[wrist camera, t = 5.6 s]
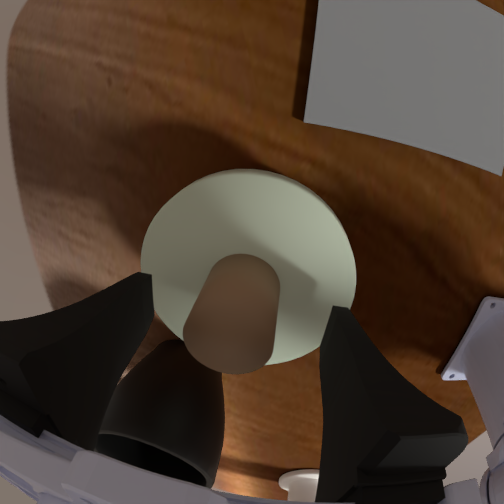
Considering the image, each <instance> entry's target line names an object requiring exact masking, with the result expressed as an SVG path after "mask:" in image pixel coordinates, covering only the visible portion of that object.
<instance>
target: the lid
mask: <svg viewBox="0 0 504 504" xmlns="http://www.w3.org/2000/svg"><path fill="white" fill-rule="evenodd" d="M141 272H142V273H147V274H152V286H153V302H154V310H155V311H156V313H157V314H158V316H159V317H160V318H161V320H162V321H163V322H164V323H165V325H166V326H167V327H168V328H169V329H170V330H171V331H172V332H173V333H174V334H175V335H177V336H178V337H179V338H180V339H182V340H183V341H184V343H185V346H186V347H187V349H188V351H189V352H190V354H191V355H192V356H193V357H194V358H195V359H196V360H197V361H199V362H200V363H201V364H203V365H205V366H206V367H208V368H210V369H213V370H215V371H218V372H222V373H227V374H245V373H249V372H253V371H255V370H257V369H259V368H261V367H262V366H264V365H268V364H277V363H281V362H286V361H290V360H293V359H295V358H298V357H301V356H303V355H305V354H307V353H309V352H311V351H313V350H314V349H316V348H318V347H319V346H320V344H321V341H322V338H323V335H324V332H325V329H326V326H327V322H328V319H329V316H330V313H331V310H332V306H341V307H348V308H349V310H350V308H351V305H352V302H353V299H354V295H355V288H356V267H355V260H354V256H353V253H352V250H351V246H350V243H349V241H348V238H347V235H346V232H345V230H344V228H343V226H342V224H341V222H340V220H339V219H338V218H337V216H336V215H335V213H334V212H333V210H332V209H331V208H330V207H329V206H328V205H327V204H326V203H325V201H324V200H323V199H322V198H320V197H319V196H318V195H317V194H316V193H314V192H313V191H312V190H311V189H309V188H307V187H306V186H304V185H302V184H301V183H299V182H297V181H295V180H293V179H291V178H288V177H286V176H284V175H281V174H277V173H273V172H270V171H265V170H257V169H233V170H225V171H220V172H217V173H213V174H210V175H207V176H205V177H203V178H200V179H198V180H196V181H194V182H193V183H191V184H190V185H188V186H187V187H185V188H184V189H182V190H181V191H180V192H178V193H177V194H176V195H175V196H173V197H172V198H171V199H170V200H169V201H168V202H167V203H166V204H165V205H164V206H163V207H162V208H161V209H160V210H159V212H158V213H157V214H156V215H155V217H154V219H153V220H152V222H151V224H150V225H149V227H148V230H147V232H146V235H145V237H144V241H143V246H142V250H141Z"/></svg>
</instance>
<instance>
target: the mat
mask: <svg viewBox="0 0 504 504" xmlns="http://www.w3.org/2000/svg"><path fill="white" fill-rule="evenodd" d="M303 122H306V123H312V124H318V125H323V126H329V127H334V128H339V129H344V130H349V131H353V132H358V133H363V134H367V135H371V136H376V137H380V138H384V139H388V140H392V141H396V142H399V143H403V144H407V145H410V146H414V147H418V148H421V149H424V150H428V151H431V152H434V153H438V154H441V155H444V156H447V157H450V158H453V159H456V160H459V161H462V162H465V163H468V164H471V165H473V166H476V167H479V168H482V169H484V170H487V171H490V172H492V173H495V174H497V175H500V176H501V175H502V171H503V166H504V16H503V15H501V14H500V13H498V12H496V11H494V10H493V9H491V8H489V7H487V6H485V5H483V4H481V3H480V2H478V1H476V0H319V1H318V11H317V19H316V28H315V37H314V45H313V53H312V61H311V69H310V77H309V84H308V92H307V99H306V107H305V114H304V121H303Z"/></svg>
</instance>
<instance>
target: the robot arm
mask: <svg viewBox="0 0 504 504" xmlns="http://www.w3.org/2000/svg"><path fill="white" fill-rule="evenodd" d="M492 303H493V304H492ZM491 304H492V305H491ZM153 317H154V302H153V286H152V274H147V273H142V272H137V273H135V274H133V275H131V276H129V277H127V278H125V279H123V280H121V281H119V282H117V283H115V284H113V285H112V286H110V287H108V288H106V289H104V290H102V291H100V292H98V293H96V294H94V295H92V296H90V297H88V298H86V299H84V300H81V301H79V302H77V303H74V304H72V305H69V306H67V307H64V308H61V309H58V310H55V311H52V312H48V313H45V314H42V315H38V316H34V317H29V318H24V319H18V320H11V321H0V476H1V477H3V478H4V479H5V480H7V481H8V482H9V483H11V484H12V485H14V486H15V487H17V488H18V489H19V490H21V491H22V492H23V493H25V494H26V495H28V496H29V497H31V498H33V499H34V500H36V501H37V504H504V298H497V297H490V296H488V297H485V298H484V299H483V300H482V302H481V304H480V306H479V308H478V310H477V312H476V314H475V316H474V318H473V320H472V322H471V324H470V326H469V327H468V329H467V331H466V333H465V335H464V337H463V338H462V340H461V342H460V344H459V345H458V347H457V349H456V351H455V352H454V354H453V356H452V357H451V359H450V361H449V362H448V364H447V365H446V367H445V369H444V370H443V372H442V373H441V378H442V379H443V380H467V381H468V384H469V386H470V388H471V391H472V393H473V396H474V398H475V401H476V403H477V406H478V408H479V411H480V413H481V416H482V419H483V421H484V424H485V427H486V429H487V432H488V435H489V438H490V441H491V444H492V447H493V451H492V452H491V453H490V454H489V455H488V456H487V457H486V459H487V463H488V466H489V468H488V469H487V470H486V472H485V473H484V475H483V476H482V479H481V482H480V488H479V487H478V482H477V479H475V478H474V479H470V480H465V481H461V482H456V483H452V484H449V485H447V486H445V487H443V481H442V480H443V479H445V478H446V470H445V467H447V466H448V465H449V464H450V463H451V462H452V461H453V460H454V459H455V458H457V457H458V456H459V455H460V454H461V453H462V452H463V450H464V449H465V447H466V446H467V444H468V436H467V432H466V429H465V426H464V423H463V420H462V418H461V417H460V416H459V415H457V414H455V413H453V412H451V411H450V410H448V409H446V408H444V407H442V406H441V405H439V404H438V403H436V402H435V401H433V400H432V399H430V398H429V397H427V396H426V395H425V394H423V393H422V392H421V391H419V390H418V389H417V388H416V387H415V386H413V385H412V384H411V383H410V382H409V381H407V380H406V379H405V378H404V377H403V376H402V375H401V374H400V373H399V372H398V371H397V370H396V369H395V368H394V367H393V366H392V365H391V364H390V363H389V362H388V361H387V360H386V358H385V357H384V356H383V355H382V354H381V352H380V351H379V350H378V349H377V348H376V346H375V345H374V344H373V342H372V341H371V340H370V338H369V337H368V336H367V334H366V333H365V332H364V330H363V329H362V327H361V326H360V324H359V323H358V322H357V320H356V319H355V317H354V316H353V314H352V313H351V311H350V310H349V308H348V307H341V306H332V310H331V313H330V316H329V319H328V322H327V326H326V329H325V332H324V335H323V338H322V341H321V344H320V365H319V367H320V379H321V391H322V404H323V437H322V450H321V461H320V470H319V478H318V485H317V491H316V497H315V502H297V501H284V500H273V499H264V498H256V497H249V496H242V495H236V494H230V493H225V492H219V491H214V490H212V489H210V488H206V487H203V486H200V485H196V484H193V483H190V482H186V481H182V480H178V479H175V478H171V477H167V476H164V475H160V474H157V473H154V472H151V471H147V470H144V469H141V468H138V467H135V466H132V465H129V464H127V463H124V462H121V461H118V460H116V459H113V458H111V457H108V456H105V455H103V454H100V453H96V452H94V449H95V445H96V441H97V438H98V434H99V431H100V428H101V425H102V422H103V419H104V416H105V413H106V411H107V408H108V405H109V403H110V400H111V398H112V395H113V393H114V391H115V388H116V386H117V384H118V381H119V379H120V377H121V376H122V374H123V372H124V370H125V369H126V367H127V365H128V364H129V362H130V360H131V359H132V357H133V355H134V354H135V352H136V350H137V349H138V347H139V345H140V344H141V342H142V340H143V339H144V337H145V335H146V333H147V331H148V329H149V327H150V324H151V322H152V320H153Z"/></svg>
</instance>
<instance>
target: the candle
mask: <svg viewBox="0 0 504 504" xmlns="http://www.w3.org/2000/svg"><path fill="white" fill-rule="evenodd" d="M318 478H319V470H318V469H303V470H295V471H291V472H288V473H285V474H283V475H282V476H281V477H280V478H279V486H280V487H281V488H283V489H285V490H287V491H288V501H297V502H315V497H316V491H317V485H318Z"/></svg>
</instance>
